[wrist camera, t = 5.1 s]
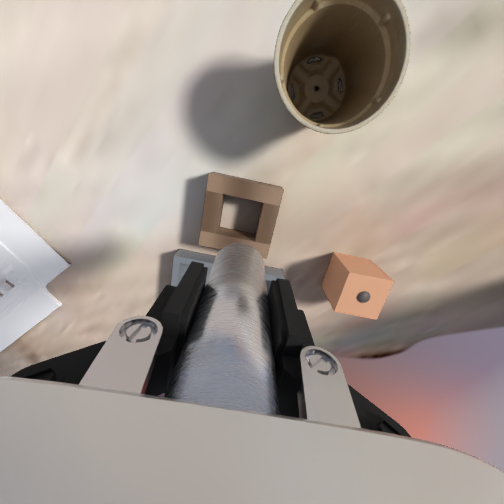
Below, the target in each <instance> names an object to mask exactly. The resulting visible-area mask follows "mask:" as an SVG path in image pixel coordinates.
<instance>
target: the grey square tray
mask: <svg viewBox="0 0 504 504" xmlns="http://www.w3.org/2000/svg"><path fill="white" fill-rule="evenodd" d="M215 258H216V256H213V255H208V254H203V253H198V252H193V251H188V250H183V249H179V250H178V251H177V253H176V254H175V255H174V259H173V269H172V278H171V286H176V287H177V286H178V284H179V282H180V281H181V279H182V277H183V275H184V274H185V272H186V270H187V269H188V267H189V265H190V263H191V262H192V261H194V262H199V263H204V267H208V271H207V277H206V282H207V279H208V277H209V274H210V271H211V269H212V266H213V263H214V260H215ZM264 268H265V277H266V287H267V296H268V292H269V289H270V285H271V282H272V280H275V281H276V279H277V278H280V279H284V278H285V277H284V273H283V269H278V268H273V267H268V266H264ZM205 285H206V283H205Z"/></svg>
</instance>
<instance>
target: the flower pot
mask: <svg viewBox="0 0 504 504" xmlns="http://www.w3.org/2000/svg"><path fill="white" fill-rule="evenodd" d="M410 47H411V37H410V25H409V21H408V17H407V14H406V10H405V7H404V6H403V4H402V2H401V0H296V1H295V2H294V4H293V5H292V7H291V8H290V10H289V11H288V13H287V15H286V17H285V18H284V20H283V23H282V25H281V27H280V30H279V34H278V37H277V41H276V46H275V54H274V73H275V80H276V84H277V89H278V92H279V94H280V97H281V99H282V101H283V103H284V105H285V107H286V108H287V110H288V111H289V112H290V113H291V115H292V116H293V117H294V118H295V119H296V120H297V121H298V122H300V123H301V124H303V125H304V126H306V127H307V128H310V129H312V130H314V131H317V132H321V133H326V134H340V133H346V132H350V131H353V130H356V129H358V128H360V127H362V126H364V125H366V124H367V123H369V122H370V121H372V120H373V119H375V118H376V117H377V116H378V115H379V114H380V113H382V112H383V111H384V109H385V108H386V107H387V106H388V105H389V104H390V102H391V101H392V100H393V98H394V97H395V95H396V93H397V92H398V90H399V88H400V86H401V84H402V82H403V79H404V76H405V73H406V70H407V66H408V63H409V56H410ZM315 57H318V58H320V59H321V61H320V62H314V63H310V64H309V63H308V60H310V59H311V58H315ZM339 78H340V80H341V82H342V92H341V93H339V92H338V79H339ZM316 86H318V87H319V90H318V91H315V87H316ZM292 87H294V92H295V94H294V99H292V95H291V89H292ZM320 112H322V113H323V116H322V117H321V118H312V117H311V116H312V114H313V113H320Z"/></svg>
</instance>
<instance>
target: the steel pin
mask: <svg viewBox="0 0 504 504" xmlns="http://www.w3.org/2000/svg"><path fill="white" fill-rule="evenodd" d="M164 397H166V398H173V399H180V400H186V401H193V402H199V403H206V404H212V405H219V406H225V407H232V408H238V409H245V410H251V411H257V412H264V413H270V414H277V415H280V410H279V401H278V391H277V382H276V372H275V363H274V353H273V344H272V334H271V325H270V315H269V306H268V296H267V287H266V277H265V268H264V261H263V258H262V256H261V254H260V253H259V252H258V251H257V250H256V249H255V248H254V247H252V246H250V245H248V244H244V243H233V244H230V245H227V246H225V247H224V248H222V249H221V250H220V251H219V253H218V254H217V256H216V258H215V260H214V263H213V266H212V269H211V271H210V274H209V277H208V279H207V282H206V285H205V288H204V291H203V293H202V296H201V299H200V301H199V304H198V307H197V310H196V312H195V315H194V318H193V320H192V323H191V326H190V329H189V331H188V334H187V337H186V340H185V342H184V345H183V347H182V350H181V353H180V355H179V358H178V361H177V363H176V366H175V369H174V372H173V374H172V377H171V380H170V382H169V385H168V388H167V391H166V393H165V396H164Z"/></svg>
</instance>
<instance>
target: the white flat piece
mask: <svg viewBox="0 0 504 504" xmlns="http://www.w3.org/2000/svg"><path fill="white" fill-rule="evenodd" d="M69 266H70V265H69V264H68V263H67V262H66V261H65V260H64V259H63V258H62V257H61V256H60V255H59V254H58V253H56V252H55V251H54V250H53V249H52V248H51V247H50V246H49V245H48V244H47V243H46V242H45V241H44V240H43V239H42V238H41V237H40V236H39V235H38V234H37V233H35V232H34V231H33V230H32V229H31V228H30V227H29V226H28V225H27V224H26V223H25V222H24V221H23V220H22V219H21V218H20V217H19V216H18V215H17V214H15V213H14V212H13V211H12V210H11V209H10V208H9V207H8V206H7V205H6V204H5V203H4V202H3V201H2V200H1V199H0V293H2V294H3V296H1V295H0V352H1V351H2V350H4V349H5V348H6V347H8V346H9V345H10V344H11V343H13V342H14V341H15V340H17V339H18V338H19V337H20V336H22V335H23V334H24V333H26V332H27V331H28V330H30V329H31V328H32V327H33V326H35V325H36V324H37V323H39V322H40V321H41V320H43V319H44V318H45V317H47V316H48V315H49V314H50V313H52V312H53V311H54V310H56V309H57V308H58V307H59V306H61V305H62V303H61V302H60V301H58V300H57V299H56V298H55V297H54V296H53V295H52V294H50V293H49V292H48V290H47V288H46V286H47V284H48V283H49V282H51V281H52V280H53V279H54V278H55V277H57V276H58V275H59V274H60V273H62V272H63V271H64V270H65V269H67V268H68V267H69ZM6 280H8V281H9V282H10V283H12V284H13V285H14V287H11V286H10V285H9V284H7V283H6Z"/></svg>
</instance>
